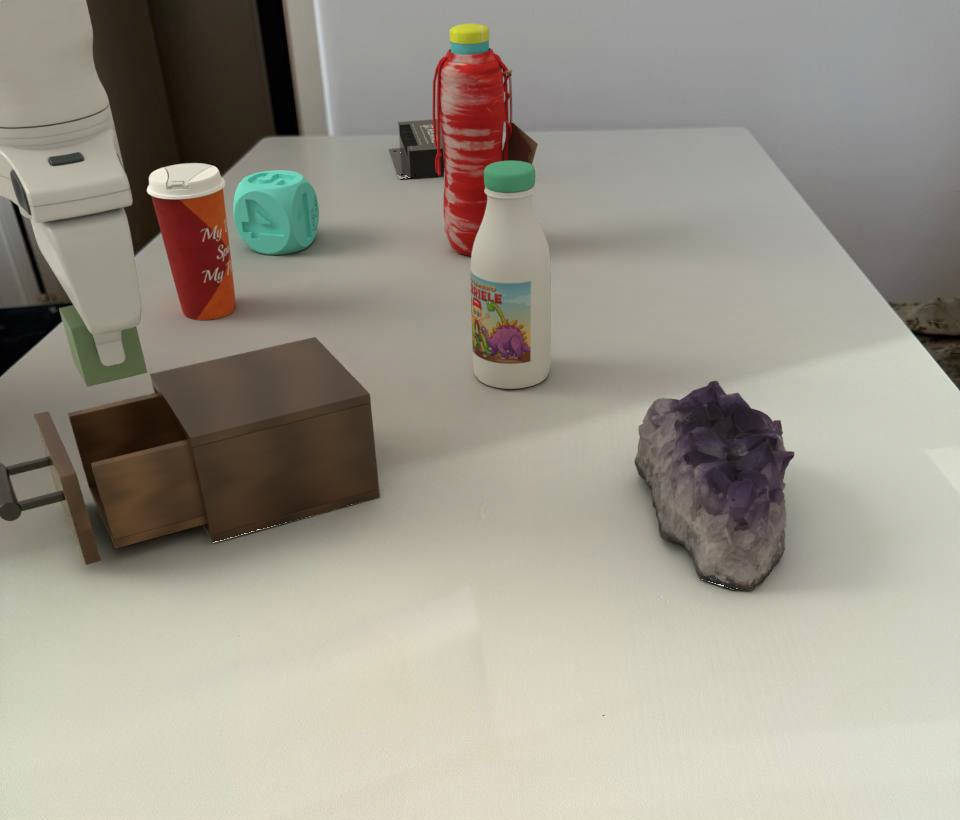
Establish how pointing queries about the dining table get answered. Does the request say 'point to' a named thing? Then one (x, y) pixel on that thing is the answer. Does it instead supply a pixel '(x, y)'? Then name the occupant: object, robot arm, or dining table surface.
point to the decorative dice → (276, 212)
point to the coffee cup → (195, 237)
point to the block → (87, 355)
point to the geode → (717, 482)
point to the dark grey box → (417, 150)
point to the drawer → (116, 474)
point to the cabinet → (273, 435)
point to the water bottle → (472, 129)
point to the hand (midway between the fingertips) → (104, 347)
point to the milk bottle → (510, 283)
